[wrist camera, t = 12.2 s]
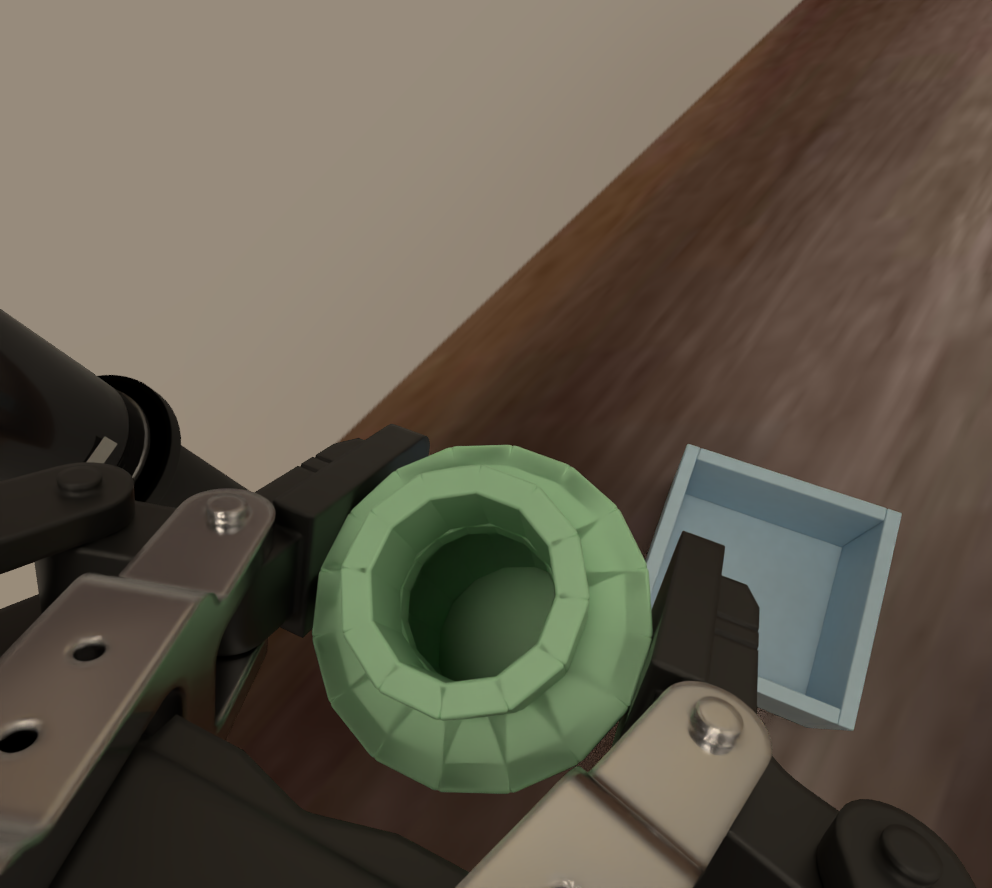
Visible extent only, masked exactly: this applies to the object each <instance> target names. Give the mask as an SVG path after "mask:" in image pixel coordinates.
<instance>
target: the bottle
mask: <svg viewBox="0 0 992 888" xmlns="http://www.w3.org/2000/svg"><path fill="white" fill-rule="evenodd" d="M312 635H313V636H314V637H313V644H314V648H315V651H316V655H317V659H318V663H319V666H320V670H321V674H322V677H323V681H324V685H325V688H326V692H327V696H328V700H329V701H330V702H332V703H331V705H332V707H333V709H334V710H335V711H336V712H337V714H338V715H339V716H340V717H341V719H342V720H343V721H344V723H345V724H346V725H347V726H348V728H349V729H350V730H351V731H352V733H353V734H354V735H355V736H356V738H357V739H358V740H359V742H360V743H361V744H362V745H363V747H364V748H365V749H366V750H367V752H368V753H369V754H370V756H372V757H375V759H376V761H378V762H380V763H382V764H384V765H386V766H388V767H390V768H392V769H394V770H396V771H398V772H400V773H402V774H404V775H406V776H407V777H409V778H411V779H413V780H415V781H417V782H419V783H421V784H423V785H425V786H427V787H429V788H431V789H433V790H439V791H440V792H459V793H493V794H508V793H510V792H517V791H519V790H521V789H524V788H526V787H528V786H531V785H533V784H535V783H537V782H540V781H542V780H544V779H547V778H549V777H551V776H553V775H556V774H558V773H560V772H562V771H565V770H567V769H569V768H572V767H574V766H576V765H577V764H578V761H579V762H581V761H583V760H584V759H585V758H586V756H587V755H588V754H589V753H590V752H591V751H592V750H593V749H594V748H595V746H596V745H597V744H598V743H599V742H600V741H601V740H602V739H603V738H604V736H605V735H606V734H607V733H608V732H609V731H610V730H611V729H612V728H613V726H614V725H615V724H616V723H617V722H618V721H619V720H620V719H621V718H622V716H623V715H624V714H625V713H626V712H627V711H628V706H630V705H631V702H632V699H633V696H634V693H635V690H636V687H637V684H638V681H639V678H640V675H641V672H642V669H643V666H644V663H645V660H646V657H647V654H648V651H649V648H650V645H651V642H652V636H653V624H652V610H651V596H650V582H649V571H648V569H647V564H646V562H645V560H644V558H643V556H642V554H641V552H640V550H639V548H638V546H637V544H636V542H635V540H634V538H633V536H632V534H631V532H630V530H629V528H628V526H627V523H626V521H625V519H624V517H623V515H622V513H621V511H620V510H619V509H617V506H616V505H615V504H614V503H613V502H612V501H611V500H609V499H608V498H607V497H606V496H605V495H604V494H603V493H601V492H600V491H599V490H598V489H597V488H596V487H595V486H594V485H592V484H591V483H590V482H589V481H588V480H587V479H586V478H584V477H583V476H582V475H581V474H580V473H579V472H578V471H577V470H575V469H574V468H573V467H570V466H569V465H568V464H565V463H562V462H560V461H557V460H554V459H551V458H548V457H546V456H543V455H540V454H537V453H534V452H532V451H529V450H526V449H523V448H520V447H518V446H513V447H512V445H487V446H455V447H453V448H447V449H444V450H442V451H440V452H437V453H435V454H432V455H430V456H428V457H425V458H423V459H420V460H418V461H415V462H413V463H411V464H408V465H406V466H403V467H401V468H398V469H397V470H396V471H394V472H392V473H391V474H390V475H389V476H388V477H387V478H386V479H385V480H384V481H382V482H381V483H380V484H379V485H378V486H377V487H376V488H375V489H374V490H373V491H372V492H371V493H369V494H368V495H367V496H366V497H365V498H364V499H363V500H362V501H361V502H360V503H359V504H358V505H356V506H355V507H354V508H353V509H352V510H351V511H350V514H348V516H347V518H346V520H345V522H344V524H343V526H342V528H341V529H340V531H339V533H338V535H337V537H336V539H335V541H334V543H333V545H332V547H331V549H330V551H329V553H328V555H327V557H326V559H325V561H324V563H323V565H322V567H321V571H320V572H319V577H318V585H317V594H316V603H315V612H314V620H313V629H312Z"/></svg>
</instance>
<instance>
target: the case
mask: <svg viewBox="0 0 992 888" xmlns="http://www.w3.org/2000/svg"><path fill="white" fill-rule="evenodd" d="M901 516H902V513H900V512H897V511H893V510H890V509H886V508H884V507H881V506H878V505H875V504H872V503H869V502H866V501H863V500H860V499H856V498H853V497H850V496H847V495H844V494H841V493H838V492H835V491H832V490H829V489H826V488H823V487H819V486H816V485H813V484H810V483H807V482H804V481H801V480H798V479H795V478H792V477H789V476H786V475H782V474H779V473H776V472H773V471H770V470H767V469H764V468H761V467H758V466H755V465H752V464H749V463H745V462H742V461H739V460H736V459H733V458H730V457H727V456H724V455H721V454H718V453H715V452H712V451H708V450H705V449H702V448H701V449H700V448H699V447H696V446H693V445H690V444H687V446H686V449H685V451H684V454H683V456H682V459H681V461H680V464H679V466H678V469H677V471H676V474H675V477H674V479H673V482H672V484H671V487H670V490H669V493H668V496H667V499H666V502H665V505H664V508H663V511H662V513H661V516H660V519H659V522H658V525H657V528H656V531H655V534H654V537H653V539H652V542H651V545H650V548H649V551H648V554H647V557H646V560H645V562H646V564H647V569H648V571H649V582H650V596H651V610H652V607H653V605H654V602H655V599H656V597H657V594H658V592H659V589H660V586H661V584H662V581H663V579H664V576H665V573H666V571H667V568H668V566H669V563H670V561H671V558H672V555H673V553H674V550H675V548H676V545H677V543H678V540H679V538H680V535H681V533H682V531H686V532H689V533H692V534H694V535H697V536H700V537H702V538H705V539H708V540H711V541H713V542H716V543H719V544H722V545H724V546H725V553H724V561H723V568H722V576H725V577H728V578H730V579H733V580H736V581H738V582H741V583H744V584H746V585H748V587H749V589H750V591H751V593H752V594H753V596H754V598H755V600H756V602H757V604H758V606H759V607H760V613H759V630H758V633H759V646H758V649H757V650H758V684H757V707H758V708H761V709H763V710H766V711H768V712H771V713H773V714H775V715H778V716H780V717H783V718H785V719H787V720H790V721H792V722H795V723H797V724H800V725H802V726H804V727H807V728H820V729H834V730H848V731H853V730H854V726H855V722H856V717H857V713H858V709H859V704H860V700H861V695H862V691H863V686H864V682H865V677H866V673H867V668H868V664H869V659H870V655H871V650H872V646H873V641H874V637H875V632H876V628H877V623H878V619H879V614H880V610H881V605H882V601H883V596H884V592H885V587H886V583H887V578H888V574H889V569H890V565H891V561H892V556H893V552H894V547H895V543H896V538H897V534H898V529H899V525H900V520H901Z"/></svg>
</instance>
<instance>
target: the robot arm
mask: <svg viewBox="0 0 992 888" xmlns="http://www.w3.org/2000/svg"><path fill="white" fill-rule="evenodd" d="M429 447H430V443H429V439H428V437H427V436H424V435H422V434H419V433H416V432H413V431H411V430H408V429H405V428H402V427H400V426H397V425H394V424H390V425H388V426H386V427H385V428H383V429H381V430H380V431H378V432H377V433H375V434H374V435H372V436H371V437H369V438H368V439H366V440H363V439H360V438H356V439H352V440H348V441H344V442H340V443H336V444H333V445H331V446H330V447H328V448H326V449H325V450H323V451H322V452H320V453H318V454H317V455H316V457H315V458H314V457H312V458H310V459H308V460H307V461H305V462H304V463H302V464H301V467H299V466H297V467H295V468H294V469H292V470H290V471H289V472H287V473H286V474H284V475H282V476H281V477H279V478H277V479H276V480H274V481H272V482H271V483H269V484H268V485H266V486H265V487H263V488H261V489H259V490H258V491H256V492H255V493H254V492H251V491H246V490H241V489H215V490H209V491H205V492H202V493H199V494H196V495H194V496H192V497H190V498H188V499H187V500H185V501H184V502H183V503H182V504H181V505H180V506H179V507H178V508H173V507H168V506H162V505H156V504H151V503H145V502H140V501H135V498H134V487H135V486H136V485H137V483H138V482H139V480H140V479H141V477H142V475H143V473H144V471H145V469H146V467H147V464H148V461H149V458H150V454H151V449H152V429H151V425H150V421H149V419H148V416H147V414H146V413H145V411H144V410H143V408H142V407H141V406H140V405H139V404H138V403H137V402H136V401H135V400H133V399H132V398H130V397H129V396H128V395H126V394H124V393H123V392H120V391H118V390H116V389H114V388H113V387H112V386H110V385H109V384H107V383H106V382H104V381H103V380H102V379H100V378H99V377H97V376H96V375H95V374H93V373H92V372H90V371H89V370H88V369H86V368H85V367H83V366H82V365H80V364H79V363H78V362H76V361H75V360H73V359H72V358H70V357H69V356H67V355H66V354H65V353H63V352H62V351H60V350H59V349H57V348H56V347H55V346H53V345H52V344H50V343H48V342H47V341H46V340H44V339H43V338H41V337H40V336H38V335H37V334H36V333H34V332H33V331H31V330H30V329H29V328H27V327H26V326H24V325H23V324H21V323H20V322H18V321H17V320H15V319H14V318H12V317H11V316H10V315H8V314H7V313H5V312H4V311H3V310H1V309H0V574H2V573H5V572H8V571H11V570H14V569H16V568H19V567H22V566H25V565H27V564H30V563H33V562H35V568H36V576H37V583H38V590H39V594H38V595H35V596H33V597H30V598H28V599H25V600H23V601H20V602H17V603H15V604H12V605H10V606H7V607H5V608H2V609H0V888H976V887H975V885H974V883H973V881H972V879H971V877H970V875H969V874H968V872H967V870H966V869H965V867H964V865H963V864H962V863H961V861H960V860H959V859H958V857H957V856H956V854H955V853H954V852H953V851H952V850H951V849H950V848H949V846H948V845H947V844H946V843H945V842H944V841H943V840H942V839H941V838H940V837H939V836H938V835H937V834H936V833H934V832H933V831H932V830H931V829H929V828H928V827H927V826H926V825H925V824H923V823H922V822H920V821H919V820H917V819H916V818H915V817H913V816H911V815H910V814H908V813H906V812H904V811H903V810H901V809H899V808H896V807H894V806H892V805H889V804H886V803H883V802H880V801H875V800H869V799H859V800H855V801H851V802H849V803H847V804H846V805H845V806H844V807H843V808H842V809H841V810H840V811H838V810H836V809H835V808H834V807H832V806H831V805H829V804H828V803H827V802H825V801H824V800H822V799H821V798H820V797H818V796H817V795H815V794H814V793H813V792H811V791H810V790H808V789H807V788H806V787H804V786H803V785H802V784H800V783H799V782H798V781H796V780H795V779H794V778H793V777H792V776H791V775H790V774H788V773H787V772H786V771H785V770H784V769H783V768H782V767H781V765H780V764H779V763H778V762H777V761H776V760H775V759H774V757H773V756H772V742H771V739H770V736H769V733H768V731H767V729H766V727H765V725H764V724H763V722H762V721H761V719H760V718H759V717H758V716H757V684H758V650H757V649H758V646H759V633H758V630H759V613H760V607H759V606H758V604H757V602H756V600H755V598H754V596H753V594H752V593H751V591H750V589H749V587H748V585H746V584H744V583H741V582H738V581H736V580H733V579H730V578H728V577H725V576H722V568H723V561H724V553H725V546H724V545H722V544H719V543H716V542H713V541H711V540H708V539H705V538H702V537H700V536H697V535H694V534H692V533H689V532H686V531H682V533H681V535H680V538H679V540H678V543H677V545H676V548H675V550H674V553H673V555H672V558H671V561H670V563H669V566H668V568H667V571H666V573H665V576H664V579H663V581H662V584H661V586H660V589H659V592H658V594H657V597H656V599H655V602H654V605H653V607H652V624H653V636H652V642H651V645H650V648H649V651H648V654H647V657H646V660H645V663H644V666H643V669H642V672H641V675H640V678H639V681H638V684H637V687H636V690H635V693H634V696H633V699H632V702H631V705H630V706H628V711H627V712H626V713H625V714H624V715H623V716H622V718H621V719H620V720H619V723H618V727H617V730H616V734H615V737H614V741H613V745H612V748H611V749H610V750H609V751H608V752H607V753H606V754H605V755H604V756H603V758H602V759H601V760H600V761H599V762H598V763H597V764H596V765H595V766H594V767H593V768H592V769H591V770H590V771H589V772H588V773H587V772H586V771H585V770H584V769H583V768H581V767H580V766H577V767H575V768H573V769H572V770H570V771H569V772H568V773H567V774H565V775H564V776H563V777H562V778H561V779H560V780H559V781H558V782H557V783H556V784H555V785H554V786H553V788H552V789H551V790H550V791H549V792H548V793H547V794H546V795H545V796H544V797H543V798H542V799H541V800H540V801H539V802H538V803H537V804H536V805H535V806H534V807H533V808H532V809H531V810H530V811H529V812H528V813H527V814H526V815H525V816H524V817H523V818H522V819H521V820H520V821H519V822H518V823H517V825H516V826H515V827H514V828H513V829H512V830H511V831H510V832H509V833H508V834H507V835H506V836H505V837H504V838H503V839H502V840H501V841H500V842H499V843H498V844H497V845H496V846H495V847H494V848H493V849H492V850H491V851H490V852H489V853H488V854H487V855H486V856H485V857H484V858H483V859H482V860H481V862H480V863H479V864H478V865H477V866H476V867H475V868H474V869H473V870H472V871H471V872H470V873H469V872H468V871H466V870H464V869H462V868H460V867H458V866H456V865H455V864H453V863H451V862H449V861H447V860H445V859H443V858H442V857H440V856H438V855H436V854H434V853H432V852H431V851H429V850H427V849H425V848H423V847H421V846H419V845H418V844H416V843H414V842H412V841H410V840H408V839H406V838H405V837H403V836H401V835H399V834H396V833H392V832H388V831H383V830H379V829H375V828H371V827H367V826H363V825H358V824H354V823H350V822H346V821H342V820H338V819H333V818H329V817H325V816H321V815H317V814H313V813H310V812H307V811H305V810H303V809H302V808H300V807H299V806H298V805H297V804H296V803H295V802H294V801H293V800H292V799H291V798H290V797H289V796H288V795H287V794H286V793H285V792H284V791H283V790H282V789H281V788H280V787H279V786H278V785H277V784H276V783H275V782H274V781H273V780H272V779H271V778H270V777H269V776H268V775H267V774H266V773H265V772H264V771H263V770H262V769H261V768H260V767H259V766H258V765H257V764H256V763H255V762H254V761H253V760H252V759H251V758H250V757H249V756H248V755H247V754H246V753H245V751H243V750H241V749H240V748H238V747H236V746H234V745H232V744H230V743H228V742H227V741H226V739H227V737H228V734H229V732H230V730H231V728H232V726H233V724H234V722H235V720H236V718H237V715H238V713H239V711H240V709H241V707H242V705H243V703H244V701H245V699H246V696H247V694H248V692H249V690H250V688H251V686H252V684H253V682H254V680H255V677H256V675H257V673H258V671H259V669H260V667H261V665H262V663H263V661H264V659H265V656H266V653H267V647H268V637H269V636H270V635H271V634H272V633H273V632H275V631H276V630H277V629H278V628H279V627H281V628H283V629H285V630H287V631H289V632H292V633H294V634H296V635H298V636H300V637H302V638H303V637H304V636H305V635H306V634H307V633H308V632H309V631H310V630H311V629H312V628H313V620H314V612H315V603H316V594H317V585H318V577H319V572H320V571H321V567H322V565H323V563H324V561H325V559H326V557H327V555H328V553H329V551H330V549H331V547H332V545H333V543H334V541H335V539H336V537H337V535H338V533H339V531H340V529H341V528H342V526H343V524H344V522H345V520H346V518H347V516H348V514H350V511H351V510H352V509H353V508H354V507H355V506H356V505H358V504H359V503H360V502H361V501H362V500H363V499H364V498H365V497H366V496H367V495H368V494H369V493H371V492H372V491H373V490H374V489H375V488H376V487H377V486H378V485H379V484H380V483H381V482H382V481H384V480H385V479H386V478H387V477H388V476H389V475H390V474H391V473H392V472H394V471H396V470H397V469H398V468H401V467H403V466H406V465H408V464H411V463H413V462H415V461H418V460H420V459H423V458H425V457H428V455H429Z"/></svg>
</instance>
